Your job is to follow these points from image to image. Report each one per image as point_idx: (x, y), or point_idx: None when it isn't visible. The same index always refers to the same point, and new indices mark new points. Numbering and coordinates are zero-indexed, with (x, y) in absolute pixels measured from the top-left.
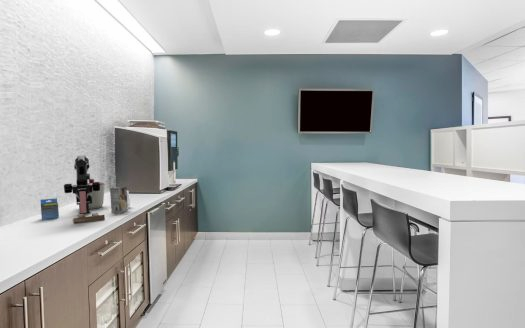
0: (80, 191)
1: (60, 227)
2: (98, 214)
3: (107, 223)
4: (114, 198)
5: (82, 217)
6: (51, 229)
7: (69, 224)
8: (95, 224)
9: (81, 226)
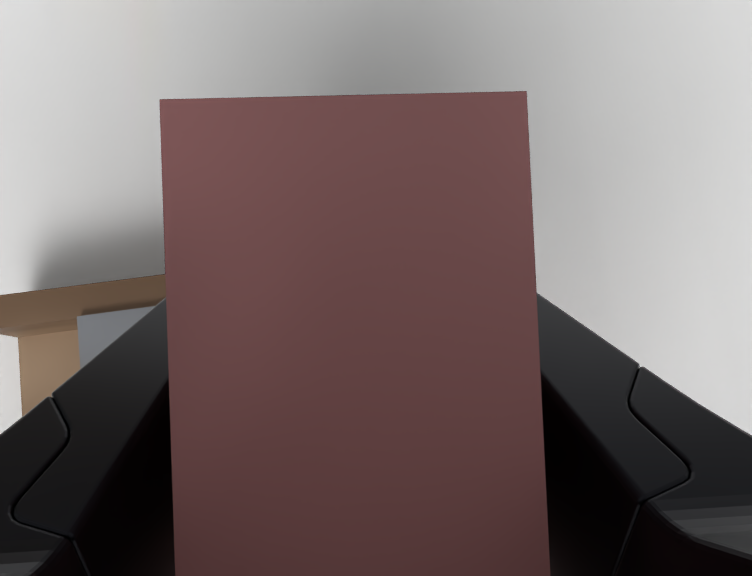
0: (459, 99)
1: (622, 95)
2: (82, 342)
3: (15, 7)
4: None
5: None
6: (710, 32)
7: (534, 240)
8: (178, 32)
9: (357, 5)
